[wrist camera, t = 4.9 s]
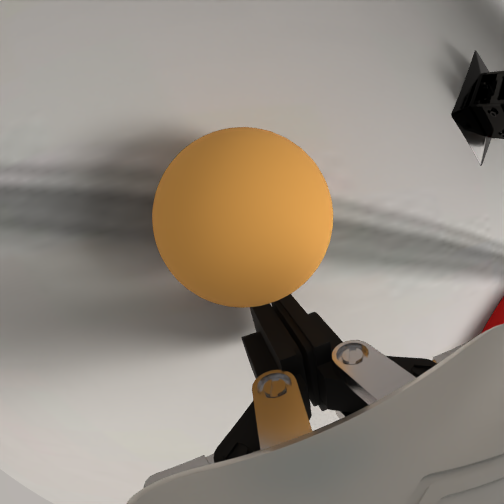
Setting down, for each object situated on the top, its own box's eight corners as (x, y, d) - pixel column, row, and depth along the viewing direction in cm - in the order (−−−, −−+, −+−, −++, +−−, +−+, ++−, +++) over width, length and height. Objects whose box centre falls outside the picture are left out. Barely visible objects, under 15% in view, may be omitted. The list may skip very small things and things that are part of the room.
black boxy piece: (466, 28, 12) (508, 20, 8) (506, 95, 14) (544, 96, 10) (423, 125, 13) (484, 125, 9) (471, 200, 16) (521, 213, 12)
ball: (346, 287, 10) (280, 185, 13) (396, 192, 6) (279, 78, 8) (210, 350, 10) (166, 231, 12) (146, 301, 5) (113, 135, 7)
